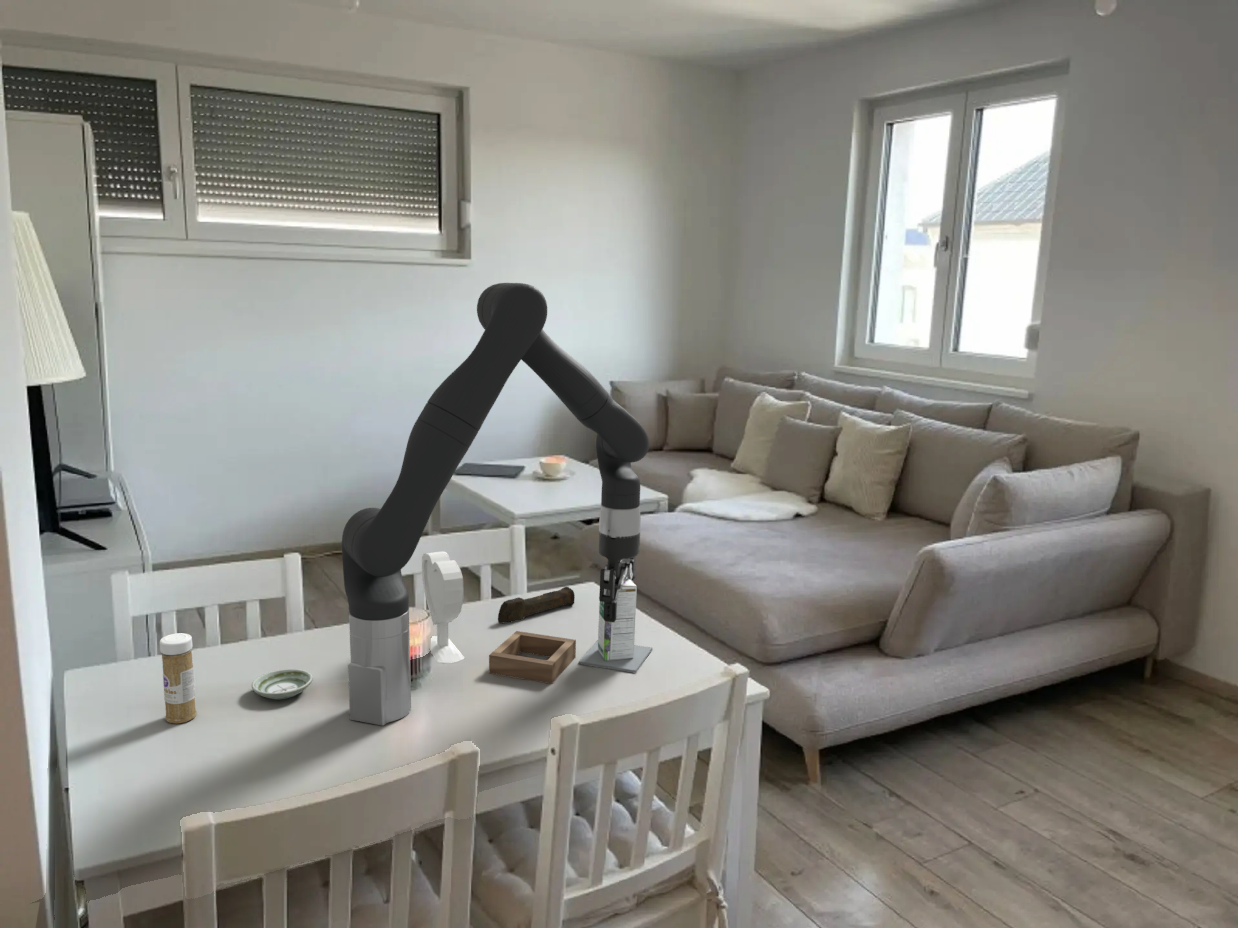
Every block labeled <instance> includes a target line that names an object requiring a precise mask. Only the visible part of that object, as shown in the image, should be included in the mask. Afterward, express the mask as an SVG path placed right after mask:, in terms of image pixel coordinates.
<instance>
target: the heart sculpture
mask: <svg viewBox="0 0 1238 928" xmlns="http://www.w3.org/2000/svg"><path fill="white" fill-rule="evenodd" d="M459 566H460V565H458V562H457V561H456V560H455V559H450V556H449V553H447V552H446V551H434V552H427V553H426V552H425V553H423V554H422V556H421V574H422V575H421V576H422V584H423V590H424V596H425V600H426V604H427V607H428V610H429V614H430V617H431V621H432V624H433V626H435V625H436V635H432V638H431V652H430V653H431V655H432V656H433V657H434V659H435V660H436V662H437V664H438V663H439V664H451V663H452V664H453V663H457V662H459V661H463V660H464V659H465V656H464V655H463V654H462V652H461V651H460V650H459V648H457V647H456V645H455V644H454V643H453V640H451V639H450V637H449V623H452V622H453V621H454V620H456V618H458V617H459V615H460V613H461V611H462V607H463V604H464V603H463V602H464V590H465V589H464V578H463V577H464V576H463V574H462V573H463V572H462V570H461V568H460V567H459Z"/></svg>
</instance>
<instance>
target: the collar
mask: <svg viewBox="0 0 1238 928" xmlns="http://www.w3.org/2000/svg"><path fill="white" fill-rule="evenodd" d="M576 652H577V640H576V639H573V638H572V639H571V638H567V637H566V638H565V637H560V636H553V635H546V634H539V633H533V632H526V631H519V630H516V631H515V632H514V633H512V634H511V635H510V636H509V637H508V638H507V639H505V640H504V641H503V642H502V643H501V644H500V645H499V646H497V648H495V649H494V650H493V651H492V652H491V653H489V655H488V673H489V674H491V675H496V676H501V677H509V678H515V679H521V680H527V681H532V682H538V683H545V684H550V685H552V684H553V683H555V681H556V680H557V679H558V678H559V677H560V676H561V675H562V673H563V672H564V671H566V669H568V667H569V665H570V664H571V663H572V662H573V661H574V660H575V659H576ZM520 653H523V654H528V655H537V656H542V657H547V658H548V659H547V660H546V659H539V658H534V657H528V656H527V657H526V656H523V655H522V656H521V655H519V654H520Z"/></svg>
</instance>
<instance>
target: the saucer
mask: <svg viewBox="0 0 1238 928" xmlns="http://www.w3.org/2000/svg"><path fill="white" fill-rule="evenodd" d="M313 679H314V677H313V675H312V673H310V672H309V671H307V670H304V669H300V668H284V669H283V668H282V669H277V670H272V671H268V672H266V673H263V674H261V675H259V676H258V677H256V678H255V679H254V680H253V681H252V683H251V689H252V691H253V692H254V693H257V694H258V695H259V696H261V697H264V698H267V699H271V700H286V699H290V698H293V697H295V696H297V695H299V694H300V693H302V692H303V691H305V690H306V689H307V688H308V687H309V686H310V685H311V684H312V682H313V681H314V680H313Z"/></svg>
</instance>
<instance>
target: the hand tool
mask: <svg viewBox="0 0 1238 928" xmlns="http://www.w3.org/2000/svg"><path fill="white" fill-rule="evenodd" d="M575 597H576V596H575V591H574V590H573V589H572V588H571V587H569V586H564V587H562V588H561V589H559V590H553V591H550V592H545V593H543V594H540V595H537V596H534V597H528V598H525V599H524V598H522V597H515V598H512V599H511V598H510V599H507V600H505V601H503V602H502V604H501V605H500V607H499V610H498V614H497V623H498V624H505V623H506V624H507V623H513V622H517V621H523V620H524V619H525V617H528V616H530V615H533V614H538V613H541V612H545V611H549V610H552V609H556V608H560V607H564V606H566V605H569V606H571V605H573V606H574V604H575V599H576V598H575Z"/></svg>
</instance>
